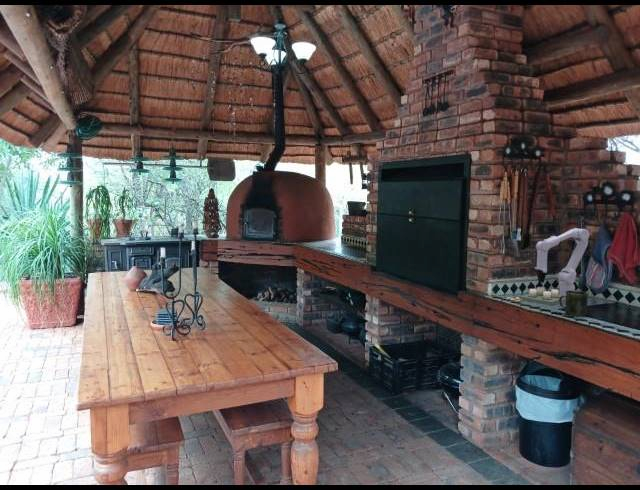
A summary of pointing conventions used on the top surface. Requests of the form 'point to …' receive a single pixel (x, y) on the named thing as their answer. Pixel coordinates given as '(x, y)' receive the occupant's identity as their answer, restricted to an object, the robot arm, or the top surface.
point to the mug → (575, 302)
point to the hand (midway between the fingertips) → (541, 282)
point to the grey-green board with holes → (540, 299)
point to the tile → (515, 298)
